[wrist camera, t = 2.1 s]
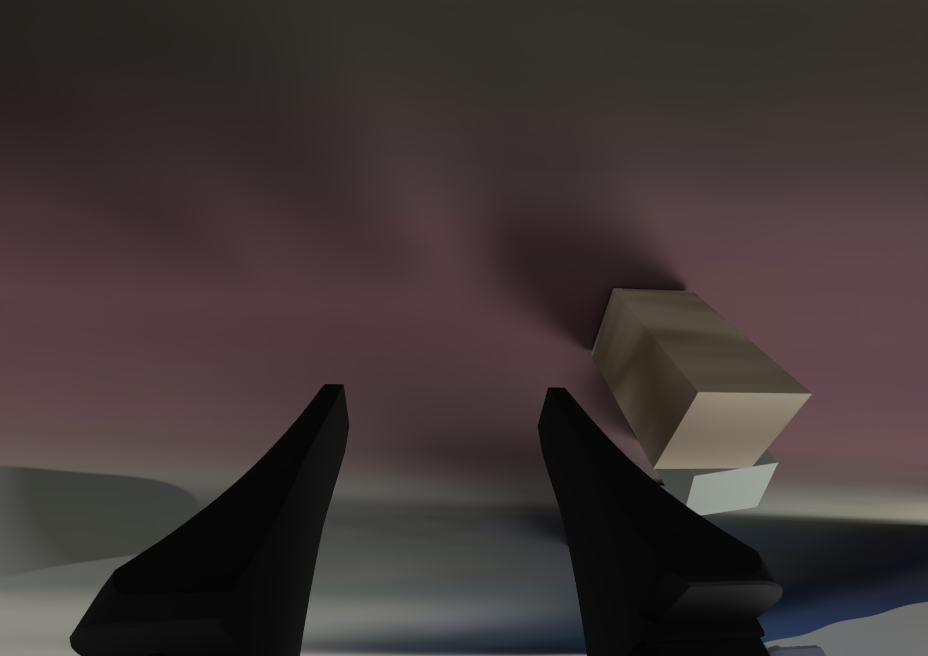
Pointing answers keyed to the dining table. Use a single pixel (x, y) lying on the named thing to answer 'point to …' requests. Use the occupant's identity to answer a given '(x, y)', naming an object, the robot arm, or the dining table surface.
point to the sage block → (720, 486)
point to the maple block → (691, 381)
